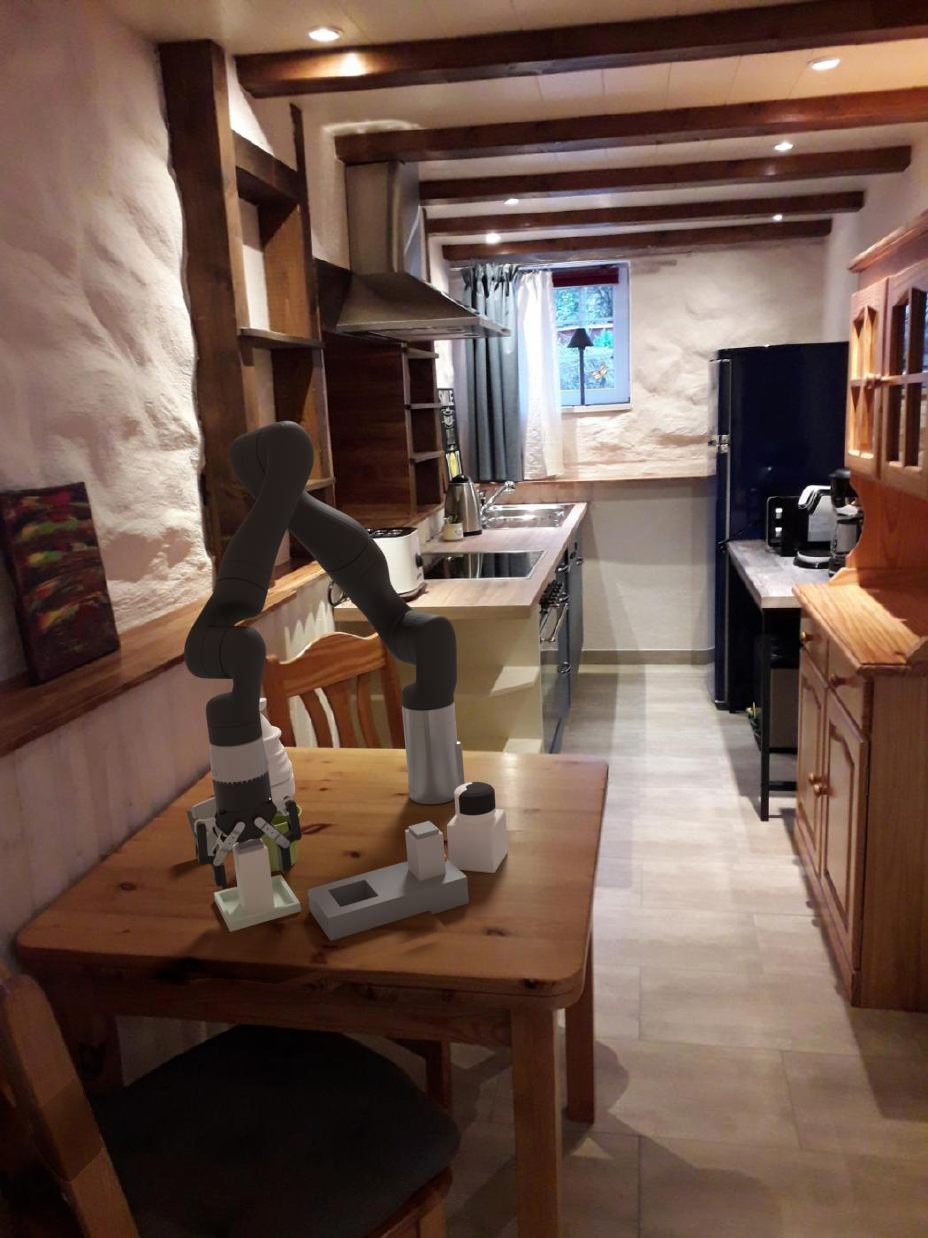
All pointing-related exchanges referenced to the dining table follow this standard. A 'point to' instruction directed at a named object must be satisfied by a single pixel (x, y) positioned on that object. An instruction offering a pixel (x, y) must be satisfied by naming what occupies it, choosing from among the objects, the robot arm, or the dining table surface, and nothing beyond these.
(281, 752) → the honey pot
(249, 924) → the tray
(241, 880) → the plug
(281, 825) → the plant pot
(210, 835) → the electrical switch
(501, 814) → the medicine bottle
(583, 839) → the dining table surface
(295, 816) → the robot arm
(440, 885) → the grey peg socket block
